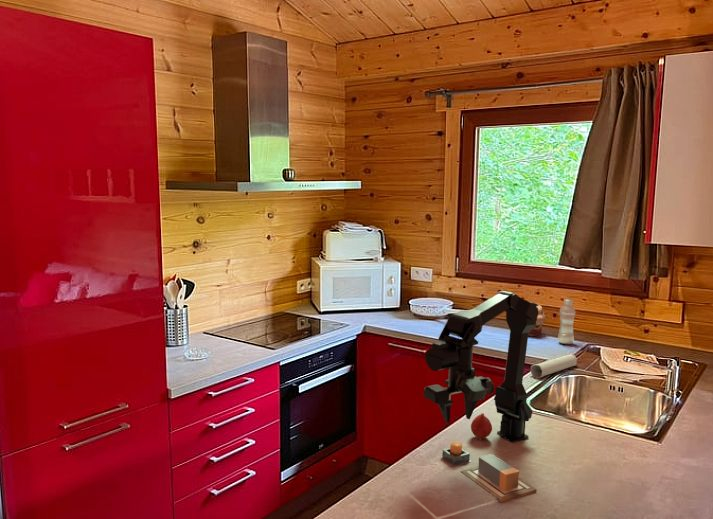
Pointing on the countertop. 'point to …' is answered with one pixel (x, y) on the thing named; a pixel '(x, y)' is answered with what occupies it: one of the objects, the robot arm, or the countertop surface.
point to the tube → (553, 366)
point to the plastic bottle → (566, 322)
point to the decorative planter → (538, 322)
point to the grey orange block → (498, 472)
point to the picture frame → (496, 490)
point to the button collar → (455, 457)
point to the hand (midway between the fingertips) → (457, 420)
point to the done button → (456, 448)
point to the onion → (481, 427)
